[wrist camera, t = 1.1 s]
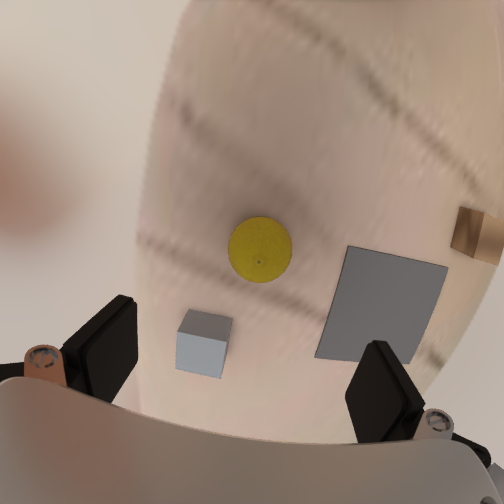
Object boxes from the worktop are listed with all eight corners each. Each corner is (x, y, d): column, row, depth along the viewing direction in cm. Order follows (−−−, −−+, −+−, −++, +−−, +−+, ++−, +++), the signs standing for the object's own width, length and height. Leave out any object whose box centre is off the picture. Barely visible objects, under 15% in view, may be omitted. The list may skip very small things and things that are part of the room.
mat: (348, 245, 28) (348, 246, 28) (447, 267, 28) (448, 268, 28) (314, 356, 32) (314, 357, 32) (408, 362, 32) (409, 364, 32)
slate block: (189, 309, 31) (177, 331, 26) (232, 317, 31) (226, 341, 26) (186, 344, 33) (175, 368, 28) (226, 352, 33) (220, 378, 28)
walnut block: (459, 206, 26) (484, 212, 21) (483, 216, 26) (508, 224, 21) (449, 246, 28) (473, 258, 23) (474, 254, 28) (498, 265, 23)
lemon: (295, 256, 29) (304, 285, 21) (243, 271, 30) (235, 304, 22) (279, 204, 28) (284, 215, 20) (226, 220, 28) (211, 238, 21)
